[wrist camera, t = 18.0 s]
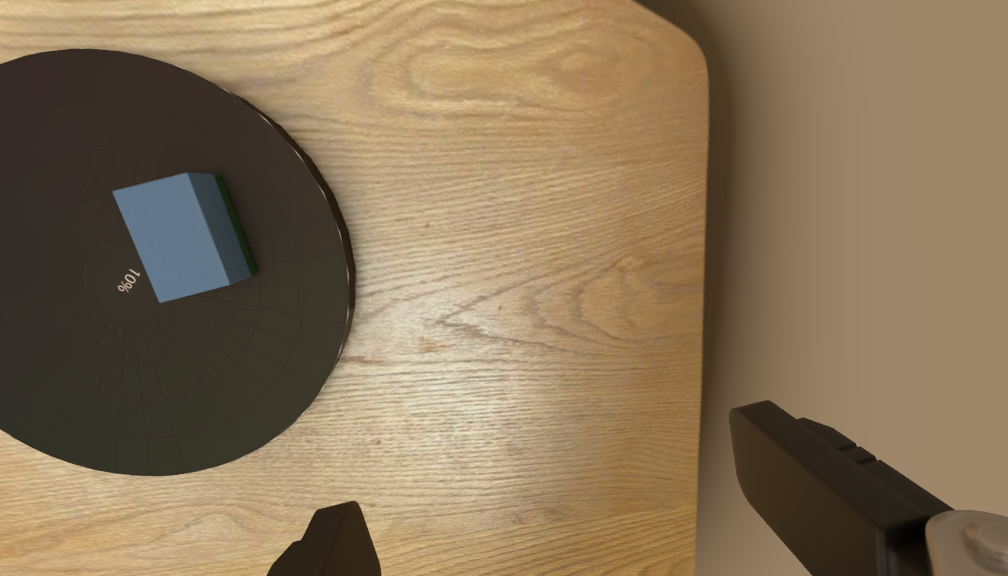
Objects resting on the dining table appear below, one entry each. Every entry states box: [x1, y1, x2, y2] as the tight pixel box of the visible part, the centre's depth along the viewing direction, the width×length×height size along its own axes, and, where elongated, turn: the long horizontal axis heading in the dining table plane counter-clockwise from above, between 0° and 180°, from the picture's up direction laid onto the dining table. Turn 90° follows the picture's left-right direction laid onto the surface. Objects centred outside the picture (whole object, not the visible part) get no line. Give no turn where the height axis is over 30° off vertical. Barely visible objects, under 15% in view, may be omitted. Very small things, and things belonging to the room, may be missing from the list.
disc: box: [0, 48, 356, 476], centre depth 34 cm, size 30×30×3 cm
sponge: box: [113, 173, 258, 303], centre depth 30 cm, size 7×4×4 cm, turn 14°
